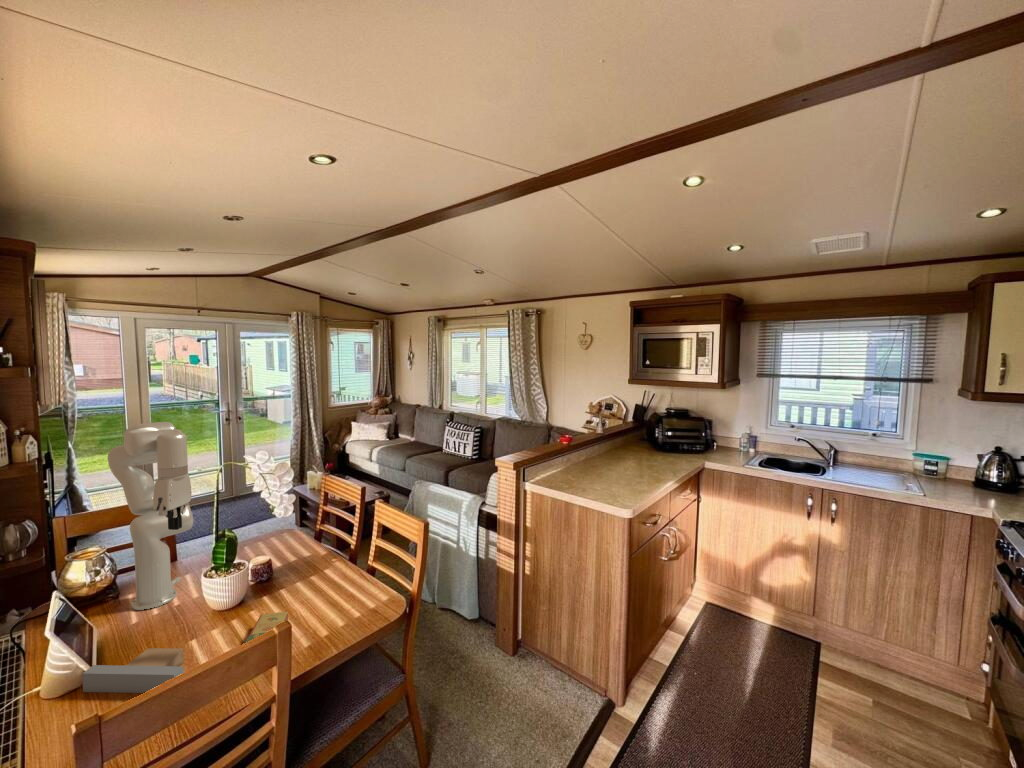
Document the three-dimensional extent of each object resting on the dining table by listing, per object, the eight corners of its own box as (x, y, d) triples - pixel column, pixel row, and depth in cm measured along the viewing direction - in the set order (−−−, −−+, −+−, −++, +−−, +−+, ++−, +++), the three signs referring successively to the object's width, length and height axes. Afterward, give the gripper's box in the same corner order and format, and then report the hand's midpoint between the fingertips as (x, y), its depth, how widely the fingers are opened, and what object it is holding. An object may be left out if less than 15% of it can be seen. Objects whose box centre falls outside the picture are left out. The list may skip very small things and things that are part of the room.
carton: (288, 623, 140) (288, 610, 140) (274, 656, 124) (274, 642, 124) (260, 626, 138) (260, 613, 138) (242, 660, 122) (242, 646, 122)
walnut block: (148, 663, 121) (148, 648, 121) (183, 663, 121) (183, 648, 121) (122, 684, 113) (122, 668, 113) (160, 685, 113) (159, 669, 113)
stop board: (94, 683, 113) (93, 665, 113) (184, 684, 113) (183, 666, 112) (83, 692, 110) (82, 673, 110) (175, 693, 110) (174, 674, 110)
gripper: (179, 465, 142) (181, 519, 143) (140, 478, 127) (143, 538, 128) (202, 466, 142) (204, 520, 143) (165, 478, 127) (167, 538, 128)
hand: (175, 528), depth 136 cm, fingers closed
